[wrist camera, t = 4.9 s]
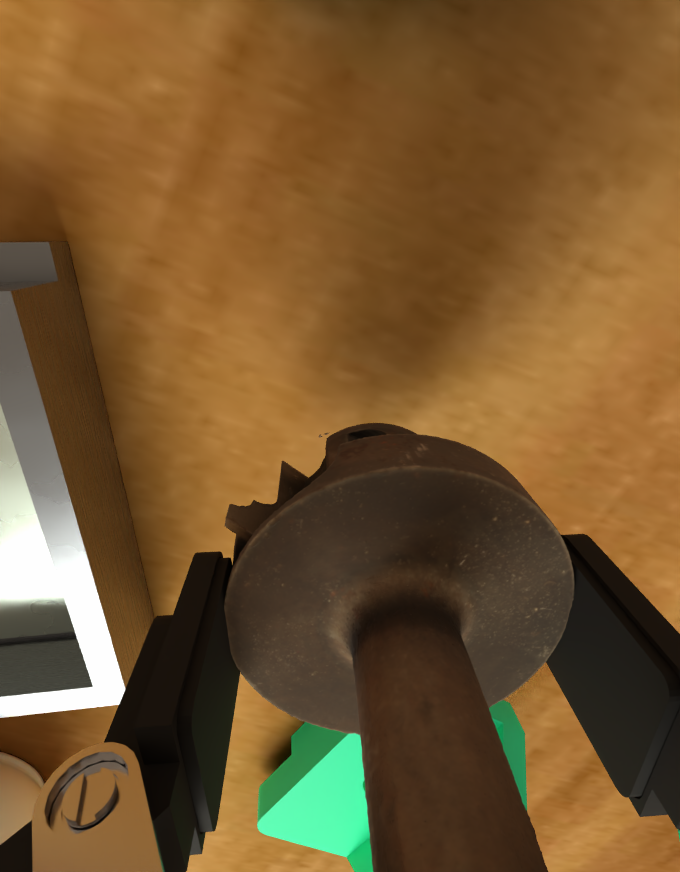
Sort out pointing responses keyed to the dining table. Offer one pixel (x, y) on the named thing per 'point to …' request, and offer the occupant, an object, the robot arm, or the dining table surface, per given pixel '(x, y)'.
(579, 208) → the dining table surface
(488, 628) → the industrial component
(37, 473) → the pocket plate
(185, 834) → the robot arm
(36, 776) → the lidded jar
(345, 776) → the camera mount
